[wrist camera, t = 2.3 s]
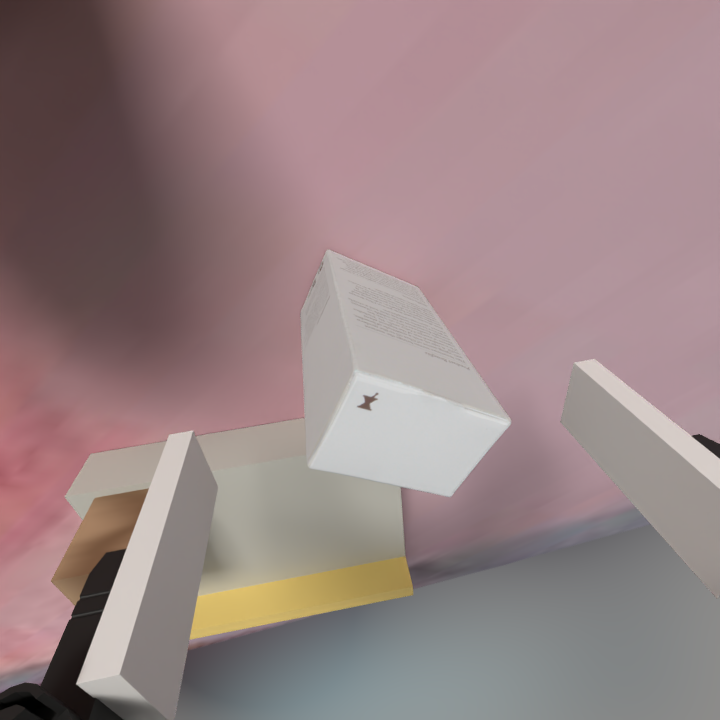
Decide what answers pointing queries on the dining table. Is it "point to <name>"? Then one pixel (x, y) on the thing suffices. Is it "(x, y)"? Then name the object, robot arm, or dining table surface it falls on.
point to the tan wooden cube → (98, 539)
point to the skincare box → (389, 384)
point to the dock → (274, 528)
